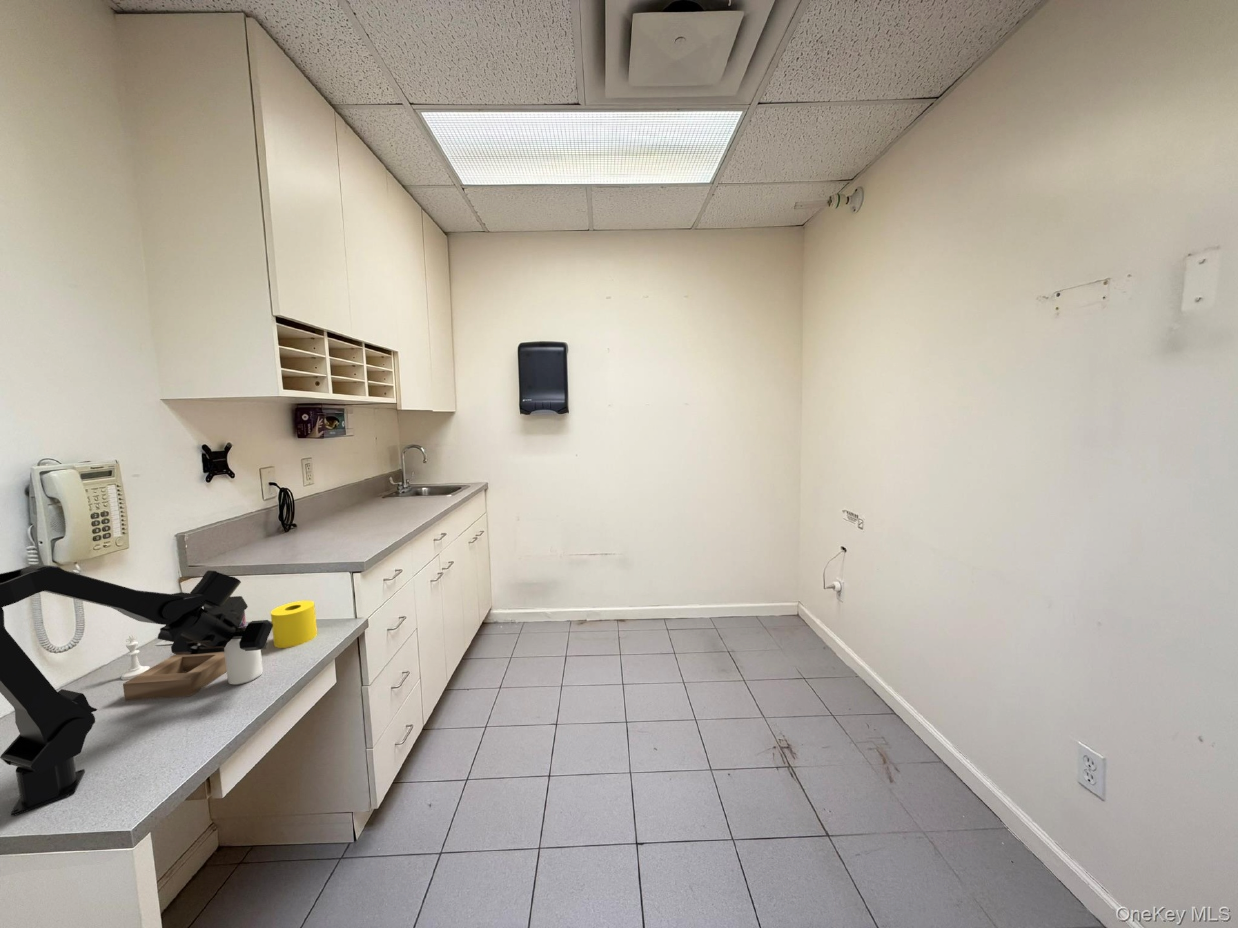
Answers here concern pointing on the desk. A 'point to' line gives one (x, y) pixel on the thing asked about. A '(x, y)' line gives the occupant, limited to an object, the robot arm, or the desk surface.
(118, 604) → the robot arm
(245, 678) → the can
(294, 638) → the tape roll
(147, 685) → the bored block
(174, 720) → the desk surface
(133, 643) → the chess piece
